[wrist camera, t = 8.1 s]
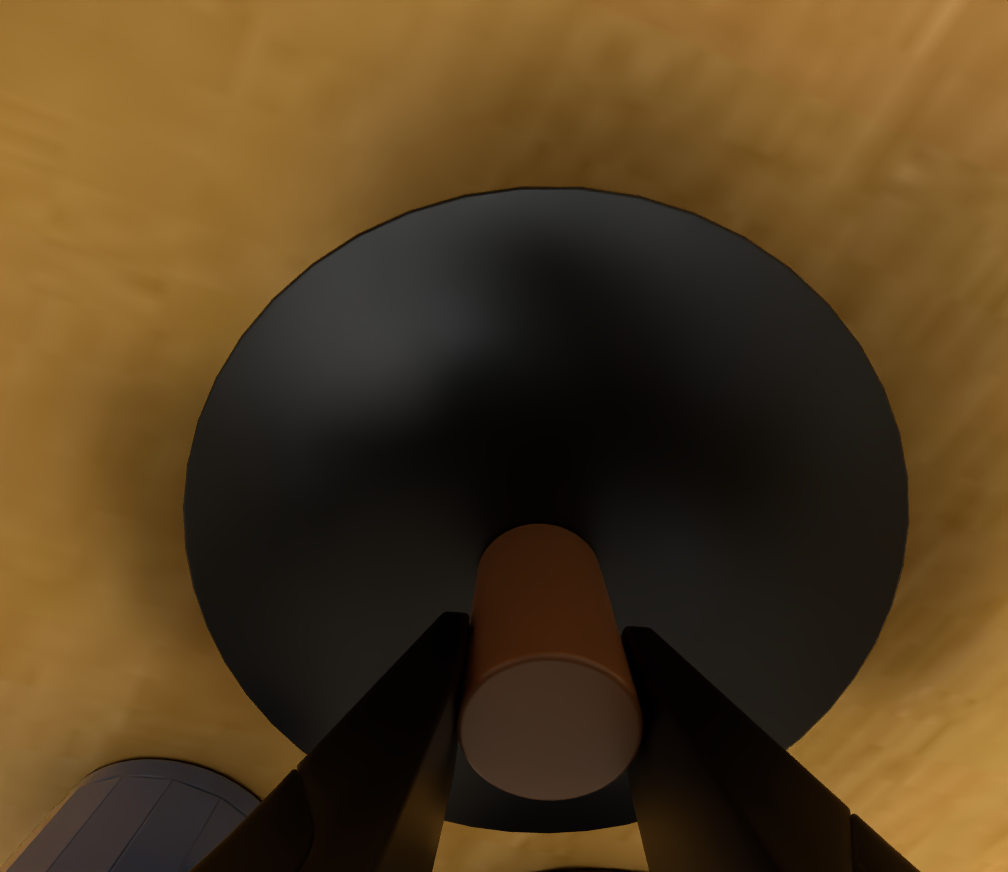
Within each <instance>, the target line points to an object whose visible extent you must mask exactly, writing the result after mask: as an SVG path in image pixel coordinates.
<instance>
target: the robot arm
mask: <svg viewBox="0 0 1008 872" xmlns="http://www.w3.org/2000/svg"><path fill="white" fill-rule="evenodd" d="M469 624H470V617H469V615H468V614H467V613H461V612H449V611H447V612H444V613H442V614H441V615H440V616H439V617H438V618H437V619H436V620H435V621H434V622H433V624H432V625H431V626H430V627H429V628H428V629H427V630H426V631H425V632H424V633H423V634H422V635H421V636H420V637H419V638H418V639H417V640H416V641H415V642H414V643H413V645H412V646H411V647H410V648H409V649H408V650H407V651H406V652H405V653H404V654H403V655H402V656H401V657H400V658H399V659H398V660H397V661H396V662H395V663H394V664H393V666H392V667H391V668H390V669H389V670H388V671H387V672H386V673H385V674H384V675H383V676H382V677H381V678H380V679H379V680H378V681H377V682H376V683H375V684H374V685H373V686H372V688H371V689H370V690H369V691H368V692H367V693H366V694H365V695H364V696H363V697H362V698H361V699H360V700H359V701H358V702H357V703H356V704H355V705H354V706H353V707H352V709H351V710H350V711H349V712H348V713H347V714H346V715H345V716H344V717H343V718H342V719H341V720H340V721H339V722H338V723H337V724H336V725H335V726H334V727H333V728H332V730H331V731H330V732H329V733H328V734H327V735H326V736H325V737H324V738H323V739H322V740H321V741H320V742H319V743H318V744H317V745H316V746H315V747H314V748H313V749H312V751H311V752H310V753H309V754H308V755H307V756H306V757H305V758H304V759H303V760H302V761H301V762H300V763H299V764H298V766H297V770H296V769H294V770H292V771H291V772H290V773H289V774H288V775H287V776H286V777H285V778H284V779H283V781H282V782H281V783H280V784H279V785H278V786H277V787H276V788H275V789H274V790H273V791H272V792H271V793H270V794H269V795H268V796H267V797H266V798H265V799H264V800H263V801H262V802H261V803H260V804H259V805H258V806H257V807H256V808H255V809H254V810H253V811H252V812H251V813H250V814H249V815H248V816H247V817H246V818H245V819H244V820H243V821H242V822H241V823H240V824H239V825H238V826H237V827H236V828H235V829H234V830H233V831H232V832H231V833H230V834H229V835H228V836H227V837H226V838H225V839H224V840H223V841H221V842H220V843H219V844H218V845H217V846H216V847H215V848H214V849H213V850H212V851H211V852H209V853H208V854H207V855H206V856H205V857H204V858H203V859H202V860H201V861H200V862H198V863H197V864H196V865H195V866H194V867H193V868H192V869H191V870H190V871H189V872H432V870H433V865H434V861H435V857H436V852H437V848H438V843H439V839H440V835H441V830H442V826H443V821H444V817H445V812H446V808H447V804H448V799H449V795H450V790H451V786H452V781H453V776H454V770H455V763H456V756H457V748H458V736H457V731H456V718H457V711H458V704H459V698H460V692H461V685H462V678H463V670H464V663H465V656H466V649H467V641H468V634H469ZM621 640H622V643H623V647H624V650H625V653H626V657H627V660H628V664H629V667H630V671H631V674H632V677H633V681H634V684H635V688H636V691H637V694H638V698H639V701H640V705H641V709H642V713H643V722H644V728H643V736H642V740H641V744H640V747H639V750H638V752H637V754H636V756H635V758H634V760H633V761H632V763H631V764H630V766H629V767H628V768H627V773H628V779H629V786H630V791H631V795H632V800H633V805H634V809H635V813H636V817H637V821H638V826H639V830H640V834H641V838H642V842H643V846H644V851H645V855H646V859H647V863H648V867H649V871H650V872H920V871H919V870H918V869H917V868H916V867H915V866H913V865H912V864H911V863H910V862H909V861H908V860H907V859H905V858H904V857H903V856H902V855H901V854H900V853H899V852H898V851H896V850H895V849H894V848H893V847H892V846H891V845H890V844H888V843H887V842H886V841H885V840H884V839H883V838H882V837H881V836H880V835H879V834H877V833H876V832H875V831H874V830H873V829H872V828H871V827H870V826H869V825H867V824H866V823H865V822H864V821H863V820H862V819H861V818H860V817H859V816H858V815H856V814H852V815H850V809H849V808H848V807H847V806H846V805H845V804H844V803H843V802H842V801H841V800H840V799H839V798H837V797H836V796H835V795H834V794H833V793H832V792H831V791H830V790H829V789H828V788H826V787H825V786H824V785H823V784H822V783H821V782H820V781H819V780H818V779H817V778H815V777H814V776H813V775H812V774H811V773H810V772H809V771H808V770H807V769H806V768H804V767H803V766H802V765H801V764H800V763H799V762H798V761H797V760H796V759H795V758H793V757H792V756H791V755H790V754H789V753H788V752H787V751H786V750H785V749H784V748H782V747H781V746H780V745H779V744H778V743H777V742H776V741H775V740H774V739H773V738H771V737H770V736H769V735H768V734H767V733H766V732H765V731H764V730H763V729H762V728H760V727H759V726H758V725H757V724H756V723H755V722H754V721H753V720H752V719H751V718H749V717H748V716H747V715H746V714H745V713H744V712H743V711H742V710H741V709H740V708H738V707H737V706H736V705H735V704H734V703H733V702H732V701H731V700H730V699H729V698H727V697H726V696H725V695H724V694H723V693H722V692H721V691H720V690H719V689H718V688H716V687H715V686H714V685H713V684H712V683H711V682H710V681H709V680H708V679H706V678H705V677H704V676H703V675H702V674H701V673H700V672H699V671H698V670H697V669H695V668H694V667H693V666H692V665H691V664H690V663H689V662H688V661H687V660H686V659H684V658H683V657H682V656H681V655H680V654H679V653H678V652H677V651H676V650H675V649H673V648H672V647H671V646H670V645H669V644H668V643H667V642H666V641H665V640H664V639H662V638H661V637H660V636H659V635H658V634H657V633H656V632H655V631H654V630H652V629H651V628H648V627H638V626H626V627H625V628H624V629H623V631H622V635H621Z"/></svg>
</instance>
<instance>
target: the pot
mask: <svg viewBox="0 0 1008 872" xmlns="http://www.w3.org/2000/svg"><path fill="white" fill-rule="evenodd" d="M557 872H620V871H601V870H575V871H557Z"/></svg>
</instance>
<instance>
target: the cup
mask: <svg viewBox="0 0 1008 872" xmlns="http://www.w3.org/2000/svg"><path fill="white" fill-rule="evenodd" d="M260 803H261V802H260V801H259V800H258V799H257V798H256V797H254V796H253V795H252V794H251V793H250V792H248V791H247V790H245V789H244V788H242V787H241V786H240V785H238V784H236V783H235V782H233V781H231V780H229V779H227V778H226V777H224V776H221V775H219V774H217V773H215V772H212V771H210V770H207V769H204V768H201V767H198V766H195V765H191V764H187V763H182V762H178V761H170V760H163V759H139V760H129V761H124V762H119V763H115V764H112V765H109V766H106V767H103V768H101V769H99V770H97V771H95V772H93V773H91V774H90V775H88V776H87V777H85V778H84V779H82V780H81V781H80V782H79V783H78V784H77V785H76V786H75V787H74V788H73V789H72V790H71V791H70V792H69V793H68V795H67V796H66V797H65V798H64V799H63V800H62V801H61V802H60V803H59V804H58V805H57V806H56V807H54V808H53V809H52V810H51V811H50V812H49V813H48V815H47V816H46V817H45V818H44V819H43V820H42V821H41V822H40V824H39V825H38V826H37V827H36V828H35V829H34V830H33V831H32V833H31V834H30V835H29V836H28V837H27V838H26V839H25V841H24V842H23V843H22V844H21V845H20V846H19V847H18V848H17V850H16V851H15V852H14V853H13V854H12V855H11V856H10V858H9V859H8V860H7V861H6V862H5V863H4V864H3V865H2V867H1V868H0V872H189V871H190V870H191V869H192V868H193V867H194V866H195V865H196V864H197V863H198V862H200V861H201V860H202V859H203V858H204V857H205V856H206V855H207V854H208V853H209V852H211V851H212V850H213V849H214V848H215V847H216V846H217V845H218V844H219V843H220V842H221V841H223V840H224V839H225V838H226V837H227V836H228V835H229V834H230V833H231V832H232V831H233V830H234V829H235V828H236V827H237V826H238V825H239V824H240V823H241V822H242V821H243V820H244V819H245V818H246V817H247V816H248V815H249V814H250V813H251V812H252V811H253V810H254V809H255V808H256V807H257V806H258V805H259V804H260Z"/></svg>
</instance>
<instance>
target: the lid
mask: <svg viewBox="0 0 1008 872" xmlns="http://www.w3.org/2000/svg"><path fill="white" fill-rule="evenodd" d="M183 513H184V531H185V549H186V554H187V559H188V564H189V569H190V574H191V579H192V584H193V589H194V592H195V595H196V598H197V601H198V603H199V606H200V609H201V612H202V615H203V618H204V621H205V623H206V626H207V628H208V630H209V632H210V634H211V636H212V638H213V640H214V642H215V644H216V646H217V648H218V650H219V652H220V654H221V656H222V658H223V660H224V662H225V664H226V665H227V666H228V668H229V669H230V671H231V672H232V674H233V675H234V677H235V678H236V680H237V681H238V683H239V684H240V686H241V687H242V689H243V690H244V692H245V693H246V695H247V696H248V697H249V698H250V699H251V700H252V701H253V703H254V704H255V705H256V706H257V707H258V708H259V709H260V711H261V712H262V713H263V714H264V715H265V716H266V717H267V719H268V720H269V721H270V722H271V723H272V724H273V725H274V726H275V727H276V728H277V729H278V730H279V731H281V732H282V733H283V734H284V735H285V736H286V737H287V738H288V739H289V740H290V741H291V742H293V743H294V744H295V745H296V746H297V747H298V748H299V749H300V750H302V751H303V752H304V753H306V754H307V755H308V754H309V753H310V752H311V751H312V749H313V748H314V747H315V746H316V745H317V744H318V743H319V742H320V741H321V740H322V739H323V738H324V737H325V736H326V735H327V734H328V733H329V732H330V731H331V730H332V728H333V727H334V726H335V725H336V724H337V723H338V722H339V721H340V720H341V719H342V718H343V717H344V716H345V715H346V714H347V713H348V712H349V711H350V710H351V709H352V707H353V706H354V705H355V704H356V703H357V702H358V701H359V700H360V699H361V698H362V697H363V696H364V695H365V694H366V693H367V692H368V691H369V690H370V689H371V688H372V686H373V685H374V684H375V683H376V682H377V681H378V680H379V679H380V678H381V677H382V676H383V675H384V674H385V673H386V672H387V671H388V670H389V669H390V668H391V667H392V666H393V664H394V663H395V662H396V661H397V660H398V659H399V658H400V657H401V656H402V655H403V654H404V653H405V652H406V651H407V650H408V649H409V648H410V647H411V646H412V645H413V643H414V642H415V641H416V640H417V639H418V638H419V637H420V636H421V635H422V634H423V633H424V632H425V631H426V630H427V629H428V628H429V627H430V626H431V625H432V624H433V622H434V621H435V620H436V619H437V618H438V617H439V616H440V615H441V614H442V613H444V612H447V611H449V612H461V613H467V614H468V615H469V617H470V624H469V634H468V641H467V649H466V656H465V663H464V670H463V678H462V685H461V692H460V698H459V704H458V711H457V718H456V731H457V736H458V748H457V756H456V763H455V770H454V776H453V781H452V786H451V790H450V795H449V799H448V804H447V808H446V812H445V817H444V821H448V822H453V823H457V824H462V825H466V826H470V827H476V828H484V829H492V830H500V831H507V832H529V833H560V832H576V831H589V830H596V829H602V828H608V827H615V826H621V825H627V824H631V823H635V822H638V821H637V817H636V813H635V809H634V805H633V800H632V795H631V791H630V786H629V779H628V773H627V768H628V767H629V766H630V764H631V763H632V761H633V760H634V758H635V756H636V754H637V752H638V750H639V747H640V744H641V740H642V736H643V728H644V722H643V713H642V709H641V705H640V701H639V698H638V694H637V691H636V688H635V684H634V681H633V677H632V674H631V671H630V667H629V664H628V660H627V657H626V653H625V650H624V647H623V643H622V640H621V635H622V631H623V629H624V628H625V627H626V626H638V627H648V628H651V629H652V630H654V631H655V632H656V633H657V634H658V635H659V636H660V637H661V638H662V639H664V640H665V641H666V642H667V643H668V644H669V645H670V646H671V647H672V648H673V649H675V650H676V651H677V652H678V653H679V654H680V655H681V656H682V657H683V658H684V659H686V660H687V661H688V662H689V663H690V664H691V665H692V666H693V667H694V668H695V669H697V670H698V671H699V672H700V673H701V674H702V675H703V676H704V677H705V678H706V679H708V680H709V681H710V682H711V683H712V684H713V685H714V686H715V687H716V688H718V689H719V690H720V691H721V692H722V693H723V694H724V695H725V696H726V697H727V698H729V699H730V700H731V701H732V702H733V703H734V704H735V705H736V706H737V707H738V708H740V709H741V710H742V711H743V712H744V713H745V714H746V715H747V716H748V717H749V718H751V719H752V720H753V721H754V722H755V723H756V724H757V725H758V726H759V727H760V728H762V729H763V730H764V731H765V732H766V733H767V734H768V735H769V736H770V737H771V738H773V739H774V740H775V741H776V742H777V743H778V744H779V745H780V746H781V747H782V748H784V749H785V750H787V749H788V748H789V747H791V746H792V745H793V744H795V743H796V742H797V741H798V740H800V739H801V738H802V737H803V736H804V735H805V734H806V733H807V732H808V731H809V730H810V729H811V728H812V727H813V726H814V725H815V724H816V723H817V722H818V721H819V720H820V719H821V718H822V717H823V716H824V715H825V714H826V713H827V712H828V711H829V710H830V709H831V708H832V706H833V705H834V704H835V702H836V701H837V700H838V699H839V697H840V696H841V695H842V694H843V692H844V691H845V690H846V689H847V687H848V686H849V685H850V684H851V682H852V681H853V680H854V679H855V677H856V675H857V674H858V672H859V670H860V669H861V667H862V665H863V664H864V662H865V660H866V659H867V657H868V655H869V654H870V652H871V650H872V649H873V647H874V645H875V644H876V642H877V639H878V637H879V635H880V632H881V630H882V628H883V626H884V623H885V621H886V619H887V616H888V614H889V612H890V610H891V607H892V605H893V601H894V598H895V594H896V590H897V587H898V583H899V580H900V576H901V572H902V569H903V565H904V558H905V550H906V542H907V534H908V526H909V498H908V475H907V469H906V464H905V459H904V453H903V448H902V442H901V437H900V432H899V429H898V426H897V423H896V421H895V418H894V415H893V412H892V409H891V407H890V404H889V401H888V398H887V395H886V392H885V390H884V387H883V385H882V383H881V382H880V380H879V378H878V376H877V374H876V373H875V371H874V369H873V367H872V365H871V363H870V362H869V360H868V358H867V356H866V354H865V352H864V351H863V349H862V347H861V345H860V344H859V342H858V341H857V340H856V338H855V337H854V336H853V335H852V333H851V332H850V331H849V329H848V328H847V327H846V326H845V324H844V323H843V322H842V321H841V319H840V318H839V317H838V315H837V314H836V313H835V312H834V310H833V309H832V308H831V306H830V305H829V304H828V303H827V302H826V301H825V300H824V299H823V298H822V297H821V296H820V295H819V294H818V293H817V292H815V291H814V290H813V289H812V288H811V287H810V286H809V285H808V284H807V283H806V282H805V281H804V280H803V279H802V278H801V277H799V276H798V275H797V274H796V273H795V272H794V271H793V270H792V269H791V268H790V267H788V266H787V265H786V264H784V263H783V262H781V261H780V260H778V259H777V258H775V257H774V256H772V255H771V254H769V253H768V252H766V251H765V250H763V249H762V248H761V247H759V246H758V245H756V244H755V243H753V242H752V241H750V240H749V239H747V238H746V237H744V236H742V235H740V234H738V233H736V232H734V231H732V230H730V229H728V228H726V227H723V226H721V225H719V224H717V223H715V222H713V221H711V220H709V219H707V218H705V217H702V216H700V215H698V214H696V213H694V212H691V211H688V210H685V209H681V208H678V207H675V206H672V205H668V204H665V203H662V202H658V201H655V200H652V199H649V198H645V197H642V196H639V195H633V194H626V193H619V192H613V191H606V190H600V189H593V188H586V187H552V186H521V187H514V188H507V189H500V190H492V191H485V192H478V193H471V194H464V195H461V196H457V197H454V198H450V199H447V200H443V201H440V202H437V203H433V204H430V205H426V206H423V207H419V208H416V209H412V210H409V211H407V212H405V213H403V214H400V215H398V216H396V217H394V218H392V219H389V220H387V221H385V222H383V223H381V224H378V225H376V226H374V227H372V228H370V229H367V230H365V231H363V232H361V233H359V234H357V235H355V236H354V237H352V238H351V239H349V240H348V241H346V242H345V243H343V244H342V245H340V246H338V247H337V248H335V249H334V250H332V251H331V252H329V253H328V254H326V255H325V256H323V257H321V258H320V259H318V260H317V261H315V262H314V263H312V264H311V265H310V266H309V267H308V268H307V269H306V270H304V271H303V272H302V273H301V274H300V275H299V276H298V277H296V278H295V279H294V280H293V281H292V282H291V283H290V284H289V285H287V286H286V287H285V288H284V289H283V290H282V291H281V292H279V293H278V294H277V295H276V296H275V297H274V298H273V299H272V300H271V301H270V303H269V304H268V305H267V306H266V307H265V308H264V310H263V311H262V312H261V313H260V314H259V316H258V317H257V318H256V319H255V320H254V322H253V323H252V324H251V325H250V326H249V328H248V329H247V330H246V331H245V332H244V333H243V335H242V336H241V337H240V339H239V341H238V342H237V344H236V346H235V347H234V349H233V351H232V352H231V354H230V355H229V357H228V359H227V360H226V362H225V364H224V365H223V367H222V369H221V370H220V372H219V374H218V375H217V377H216V379H215V381H214V384H213V386H212V388H211V391H210V393H209V396H208V398H207V400H206V403H205V405H204V408H203V410H202V412H201V415H200V417H199V420H198V423H197V427H196V431H195V435H194V439H193V443H192V447H191V451H190V455H189V459H188V463H187V472H186V483H185V493H184V504H183Z"/></svg>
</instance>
